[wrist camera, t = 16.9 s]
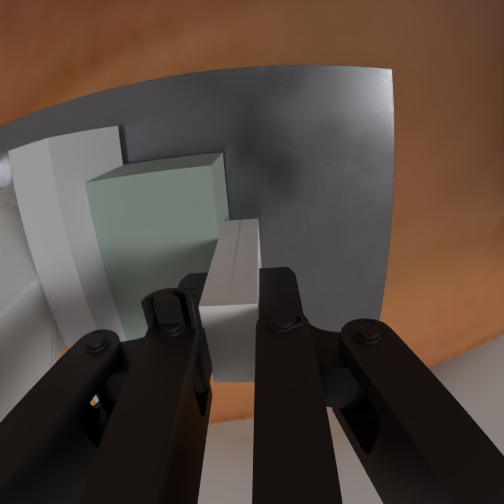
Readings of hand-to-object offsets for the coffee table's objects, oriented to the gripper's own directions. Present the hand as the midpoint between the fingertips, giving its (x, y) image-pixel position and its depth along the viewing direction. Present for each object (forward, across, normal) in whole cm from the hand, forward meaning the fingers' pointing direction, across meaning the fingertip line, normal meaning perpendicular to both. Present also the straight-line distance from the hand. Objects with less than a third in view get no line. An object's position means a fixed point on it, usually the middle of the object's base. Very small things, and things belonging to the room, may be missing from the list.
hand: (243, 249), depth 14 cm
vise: (+3, -6, 0) cm, 7 cm away
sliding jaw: (+2, -4, 0) cm, 5 cm away
